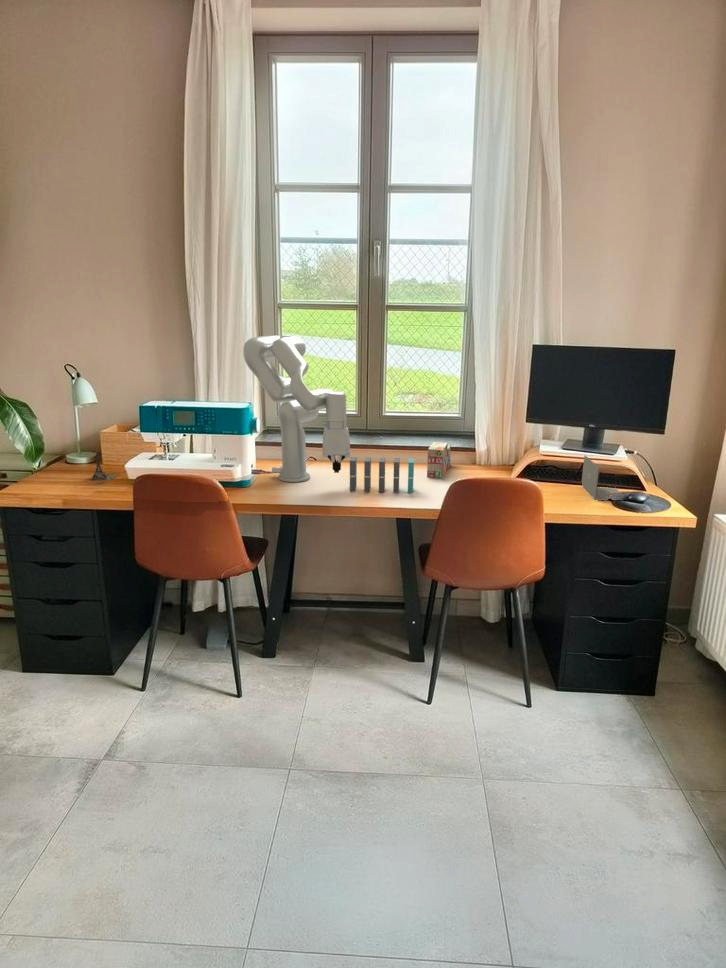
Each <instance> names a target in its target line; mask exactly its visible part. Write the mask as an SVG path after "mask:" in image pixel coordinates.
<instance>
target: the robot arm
mask: <svg viewBox="0 0 726 968" xmlns="http://www.w3.org/2000/svg"><path fill="white" fill-rule="evenodd" d="M242 348H243V352H242V353H243V359H244V362H245V364H246V365H247V367H248V369H249V370H250V371H251V372H252V373H253V375H254V376H255V377H256V378H257V380H258V382H259V383H260V384H261V386H262V388H263V389H264V391H265V392H266V394H267V396H268V397H269V398H270V400H271V401H272V402H274V403H281V404H280V405H279V406H278V409H277V417H278V421H279V424H280V425H279V426H280V434H281V436H280V438H281V439H280V441H281V464H282V465H281V466H280V467H274V466H273V467H272V468H271V472H272V473H274V474H278V480H280V481H282V482H285V483H286V482H287V483H300V482H305V481H308V480H309V479H310V478H311V474H310V473H309V472H307V455H306V454H307V451H306V450H307V447H306V446H307V445H306V444H307V442H306V432H305V430H304V427H303V425H302V424H303V423H307V422H310V421H313V420H315V419H316V418H317V417H318V415H319V410H325V419H326V420H323V421H321V423H322V425H323V426H325V427H324V429H323V434H322V457H323V458H326V459H329V460H330V462H331V463H332V471H334V472H333V473H335V474H336V473H338V474H339V472H340V471H342V461H344V460H345V459H347V458H351V457H352V454H351V437H350V430H349V428H348V427H347V395H346V392H345V391H340V390H333V389H330V388H326V387H325V388H323V387H322V388H318V389H311V390H310V389H309V388H308V387H307V385H306V384H305V382H304V380H303V377H304V376H305V375H306V374H307V372H308V370H309V364H308V362H307V361H306V360H305V359H304V357H303V356H304V355H305V354H306V350H307V347H306V344H305V342H304V340H303V339H302V338H301V337H299V336H293V335H292V336H291V335H280V334H279V335H278V334H277V335H276V334H275V335H273V334H272V335H261V336H253V337H251V338H249V339H248V340H246V341H245V343H244V345H243V347H242ZM266 358H267V359H269V358H275V359H276V361H277V362H278V364H280V366H281V367H282V369H283V370H284V371H285V373H287V375H288V376H283V375H282V374H281V373H280V371H279V370H278V369H277V367H276V366H275V365H274V364H273V363H271V362H270V361H269V360H267V359H266ZM336 456H338V457H337V460H336Z"/></svg>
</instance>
